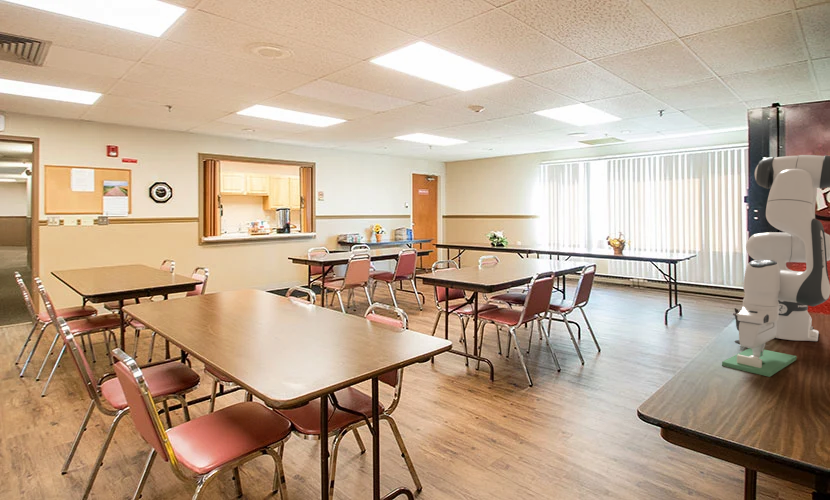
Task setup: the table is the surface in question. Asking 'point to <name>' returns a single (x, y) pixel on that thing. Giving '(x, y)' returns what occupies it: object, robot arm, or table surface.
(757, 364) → the green
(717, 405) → the table surface
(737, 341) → the sundae
